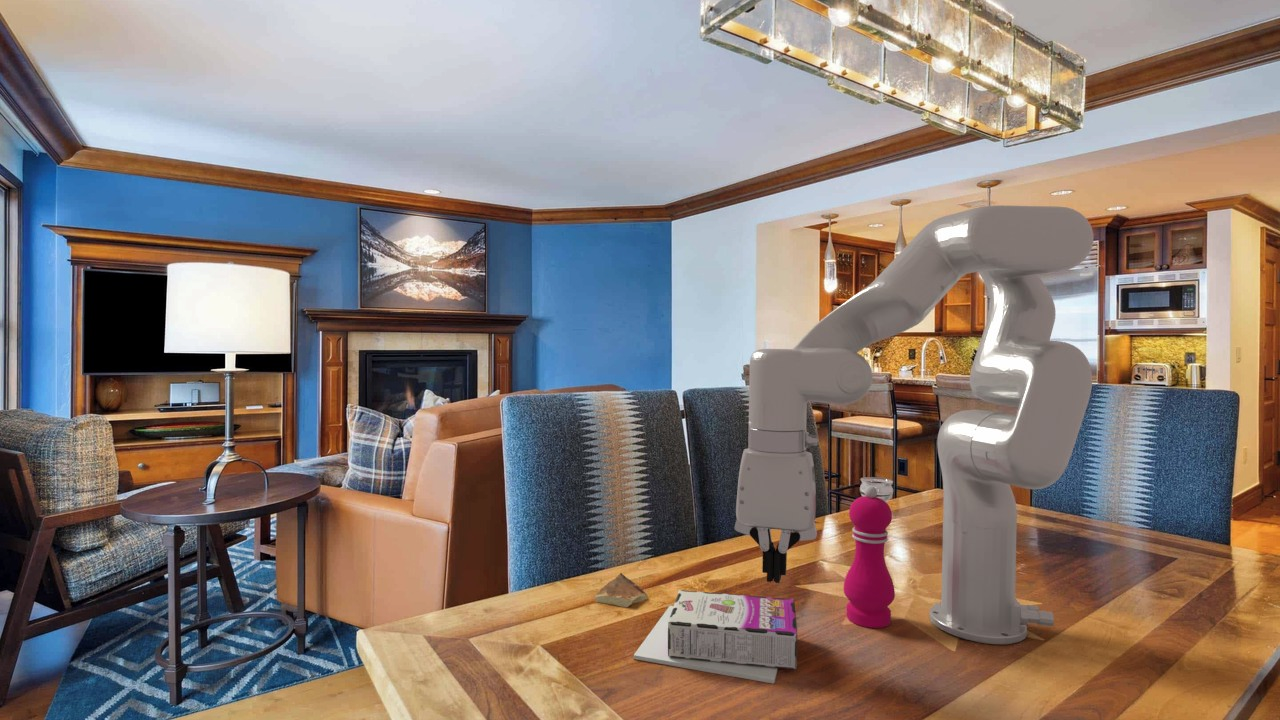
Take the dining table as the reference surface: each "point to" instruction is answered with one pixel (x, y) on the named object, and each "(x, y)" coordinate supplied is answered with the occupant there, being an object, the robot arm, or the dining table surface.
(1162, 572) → the dining table surface
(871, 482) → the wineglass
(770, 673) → the pale gray mat
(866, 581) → the pepper mill
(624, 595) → the shard
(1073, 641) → the dining table surface
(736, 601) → the candy bar box
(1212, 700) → the dining table surface
